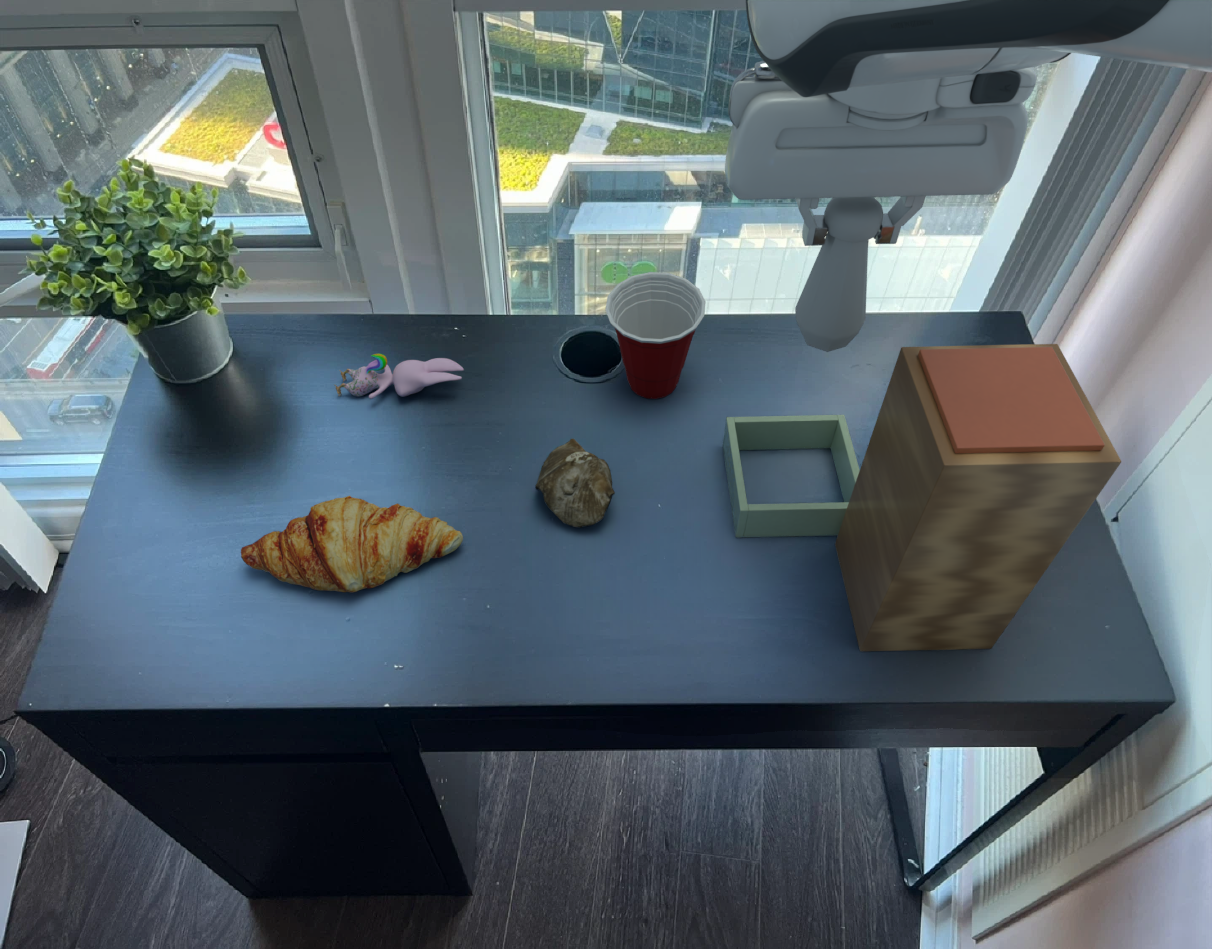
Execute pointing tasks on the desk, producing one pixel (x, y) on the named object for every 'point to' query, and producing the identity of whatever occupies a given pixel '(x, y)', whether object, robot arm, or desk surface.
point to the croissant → (351, 545)
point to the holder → (788, 436)
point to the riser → (954, 522)
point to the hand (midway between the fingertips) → (848, 240)
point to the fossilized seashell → (576, 485)
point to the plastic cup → (655, 328)
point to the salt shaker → (839, 275)
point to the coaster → (1008, 400)
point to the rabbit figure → (399, 376)
